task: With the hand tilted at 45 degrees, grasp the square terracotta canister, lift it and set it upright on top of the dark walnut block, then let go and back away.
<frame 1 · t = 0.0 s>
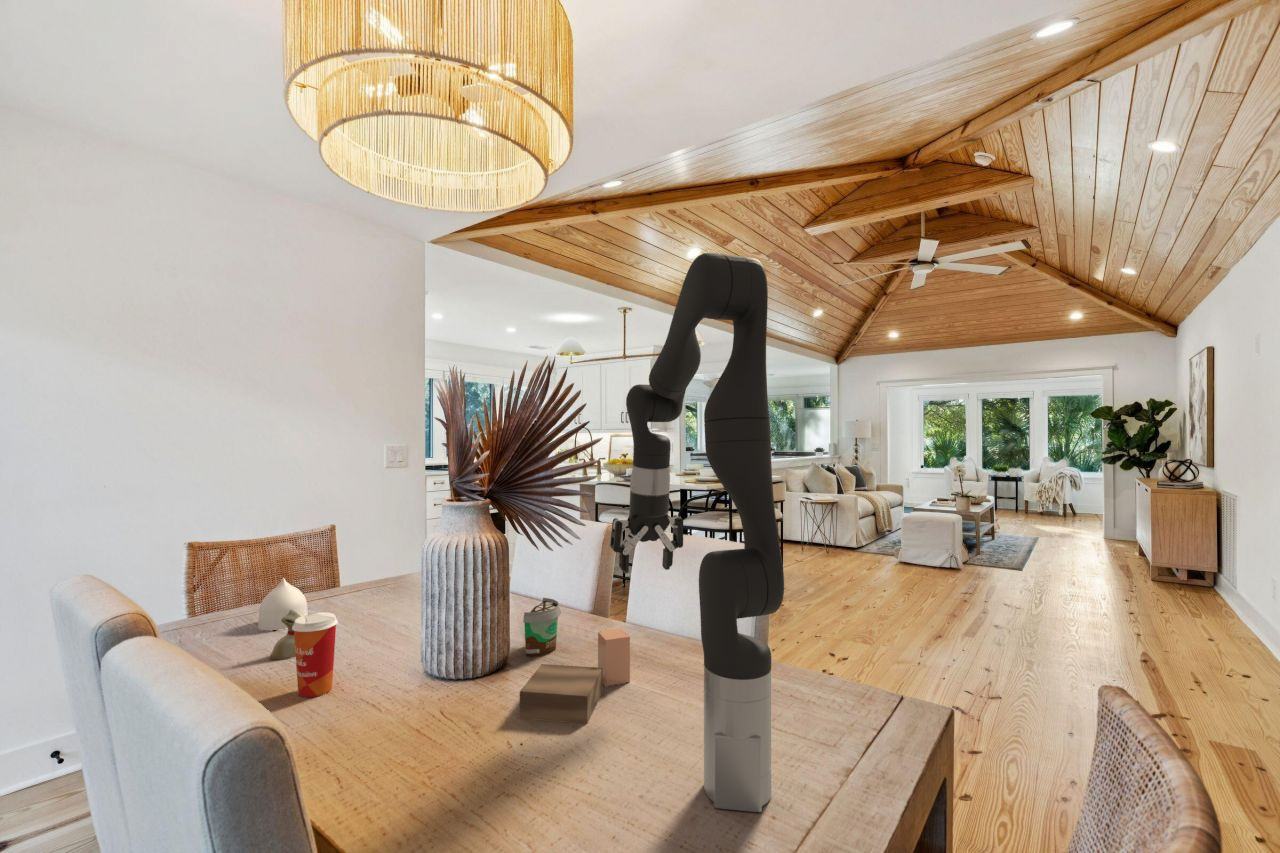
hand: (645, 570, 116), 22 cm above the table, tool pointing down, fingers open, 8 cm apart
paper cup: (315, 692, 113), on the table
walnut block: (563, 706, 108), on the table
food container: (546, 650, 134), on the table
terracotta canister: (613, 679, 119), on the table
teardrop: (283, 624, 152), on the table
tied pouch: (291, 655, 132), on the table
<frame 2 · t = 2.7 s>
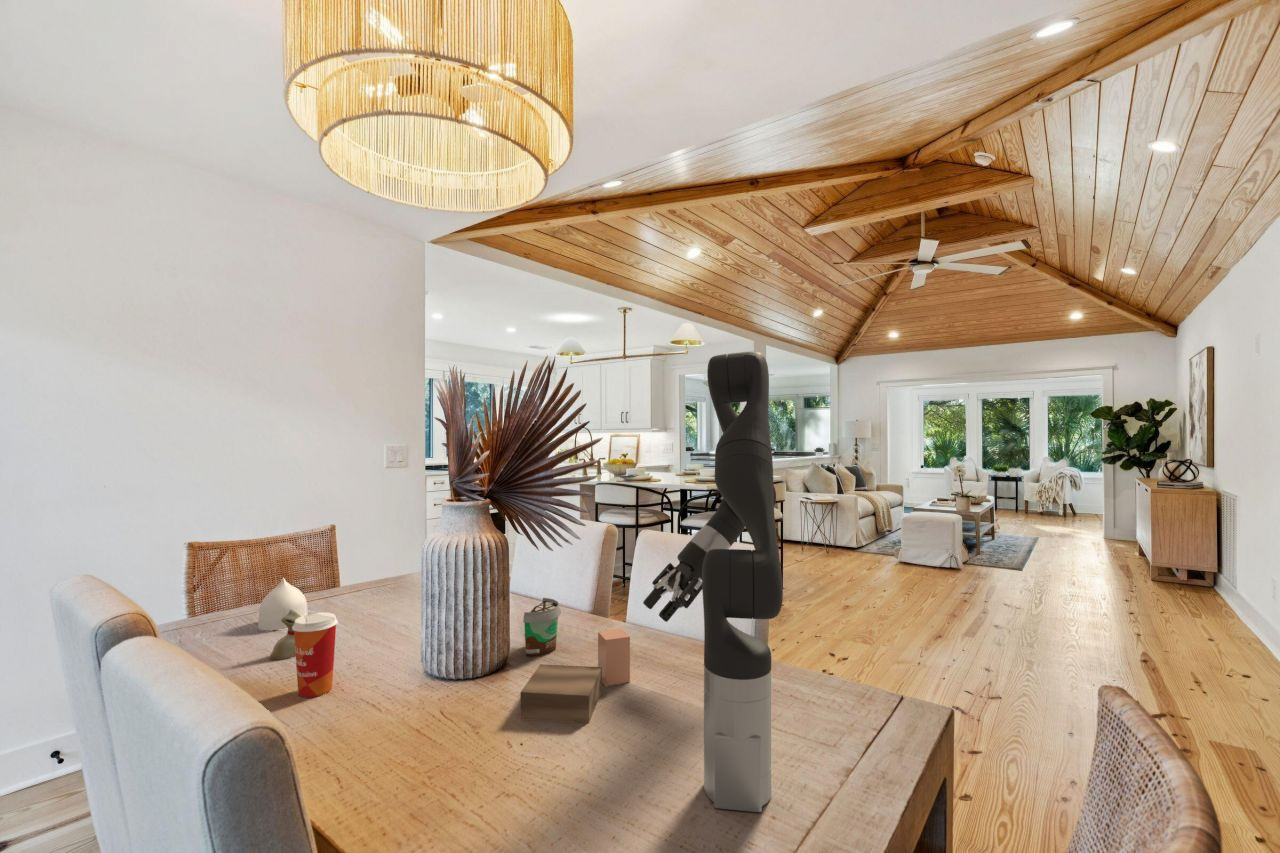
hand: (654, 612, 122), 12 cm above the table, tool tilted 45°, fingers open, 8 cm apart
nothing on the table moved.
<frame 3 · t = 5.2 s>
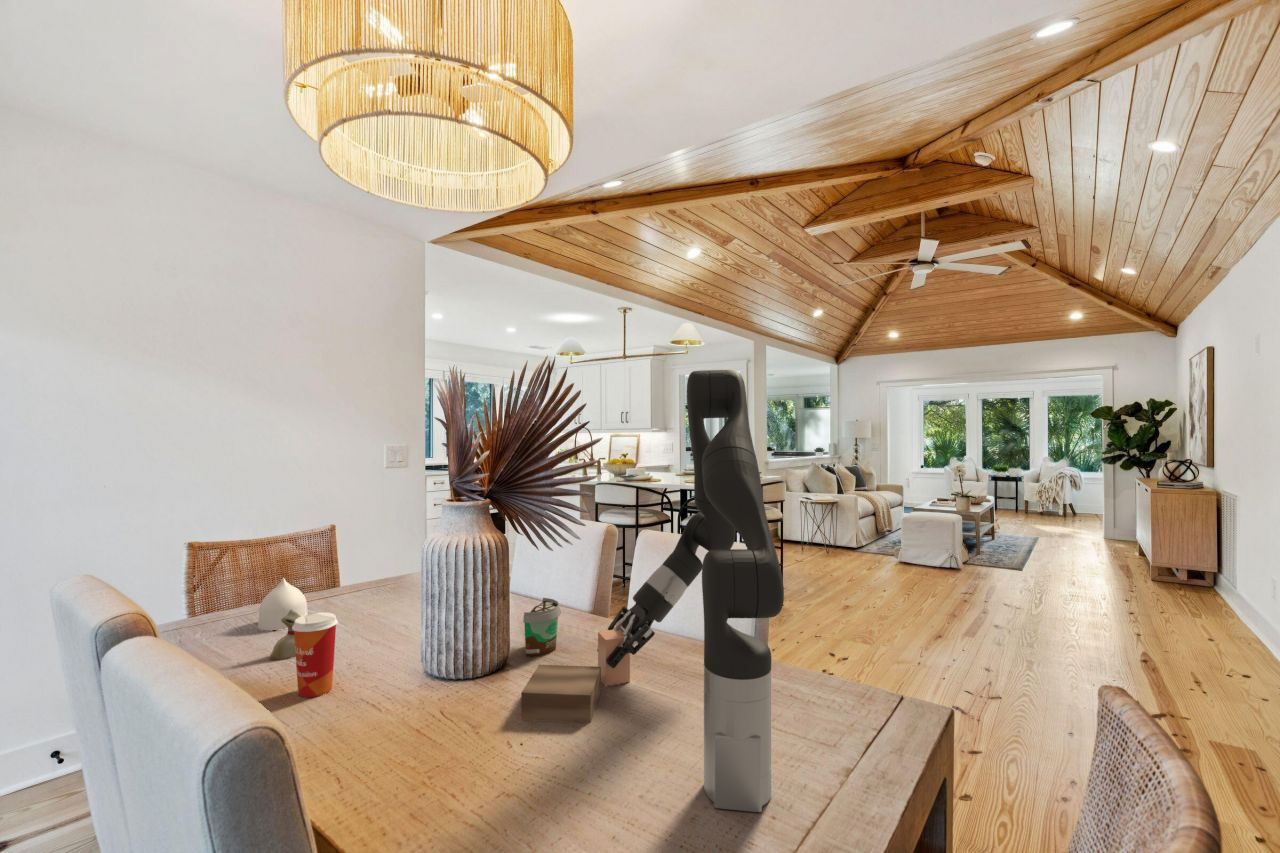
hand: (605, 659, 118), 4 cm above the table, tool tilted 45°, fingers closed on terracotta canister, 5 cm apart
terracotta canister: (613, 679, 119), on the table, touching gripper
everything else where it was.
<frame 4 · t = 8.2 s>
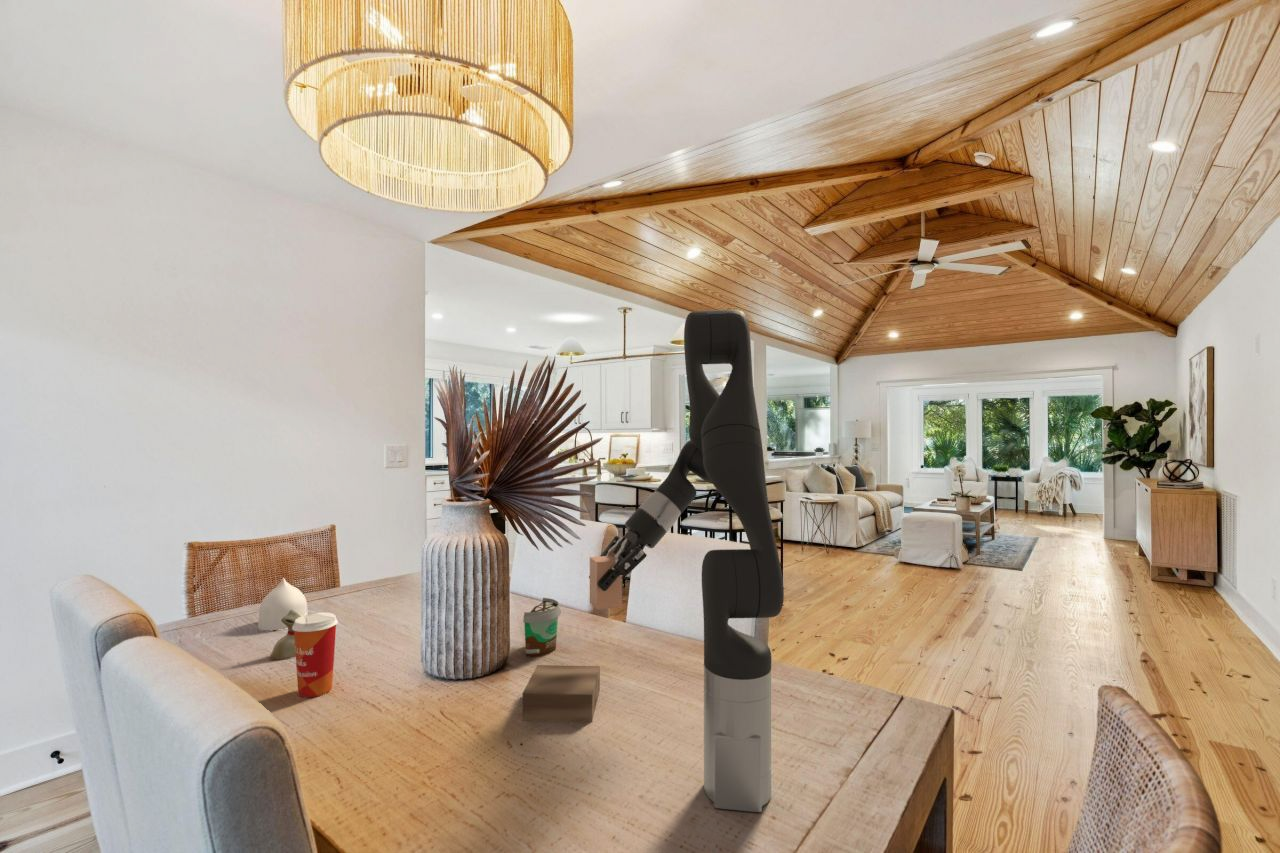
hand: (596, 584, 116), 20 cm above the table, tool tilted 45°, fingers closed on terracotta canister, 5 cm apart
terracotta canister: (605, 604, 116), point 15 cm above the table, touching gripper
everything else where it was.
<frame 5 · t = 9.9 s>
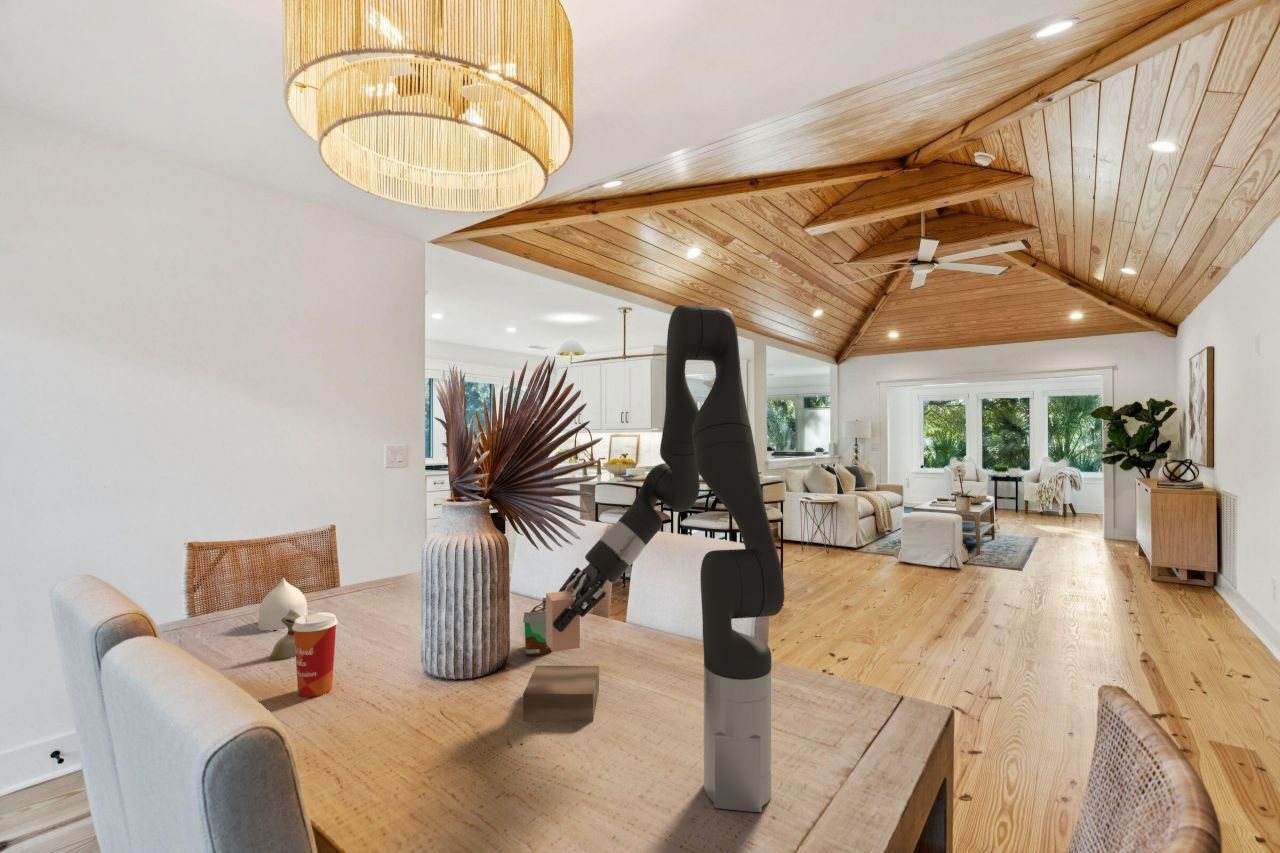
hand: (552, 623, 107), 15 cm above the table, tool tilted 45°, fingers closed on terracotta canister, 5 cm apart
terracotta canister: (562, 644, 108), point 11 cm above the table, touching gripper
everything else where it was.
when the fingers open (11 cm above the table, at t = 11.1 s): terracotta canister drops 2 cm, resting on walnut block.
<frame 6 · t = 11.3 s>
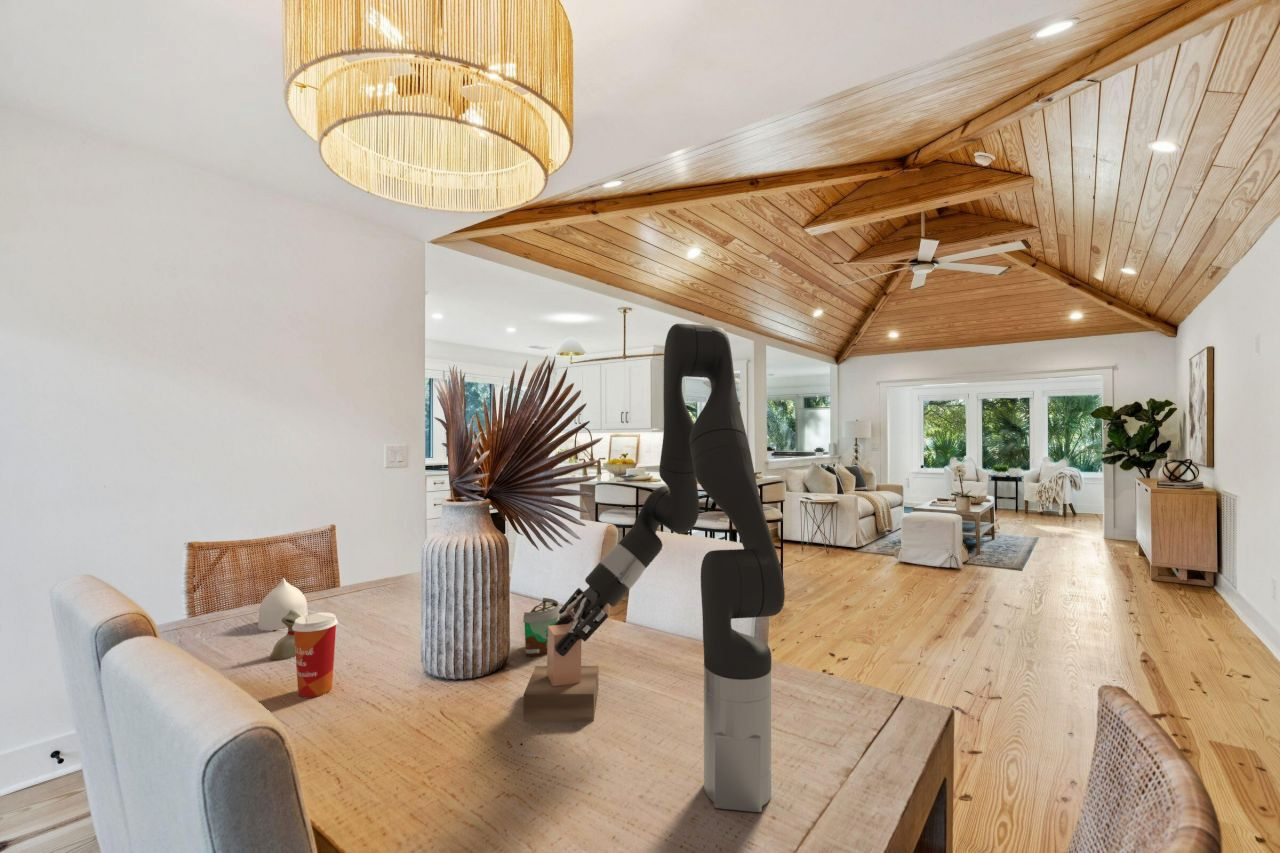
hand: (554, 645, 107), 11 cm above the table, tool tilted 45°, fingers open, 6 cm apart
walnut block: (563, 706, 108), on the table, touching terracotta canister
terracotta canister: (563, 678, 108), point 5 cm above the table, touching walnut block
everything else where it was.
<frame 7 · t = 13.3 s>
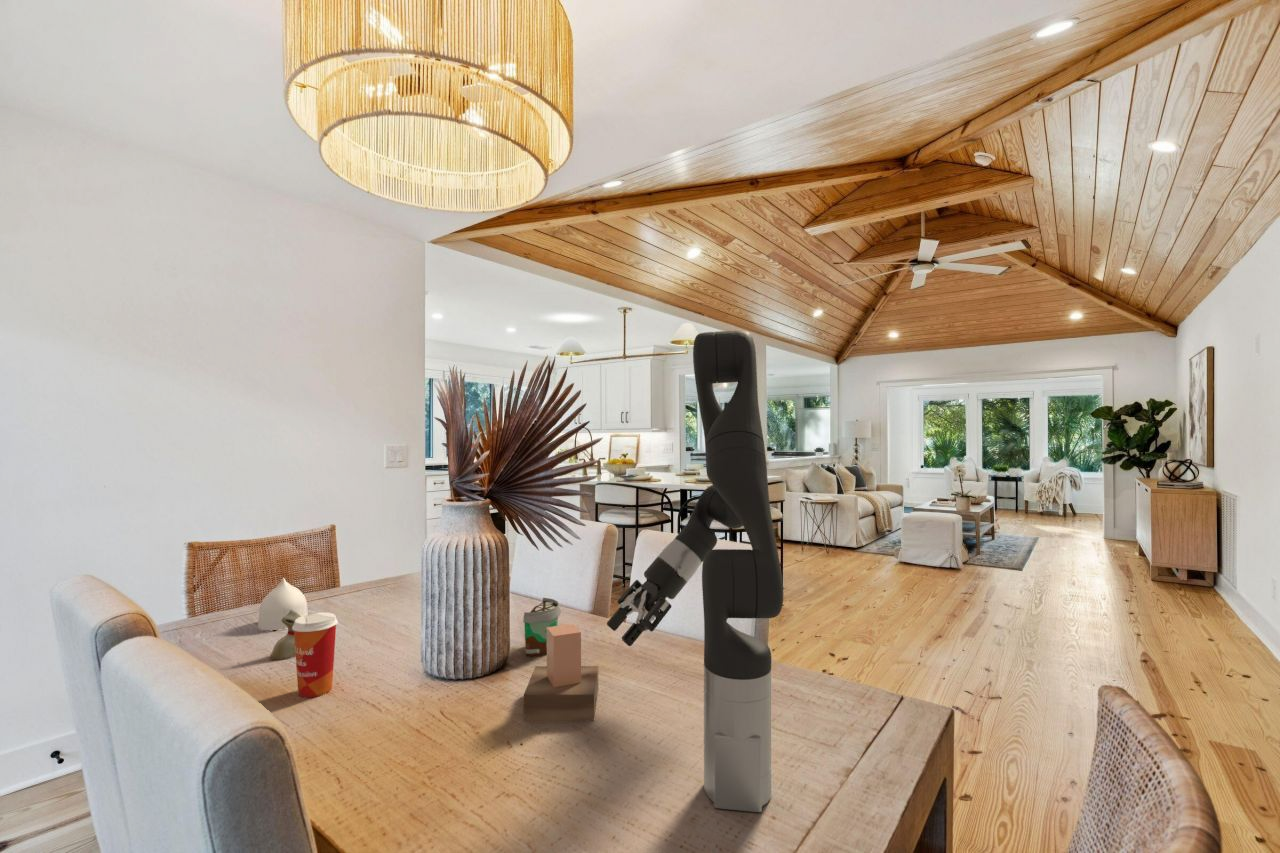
hand: (617, 635, 112), 11 cm above the table, tool tilted 45°, fingers open, 8 cm apart
nothing on the table moved.
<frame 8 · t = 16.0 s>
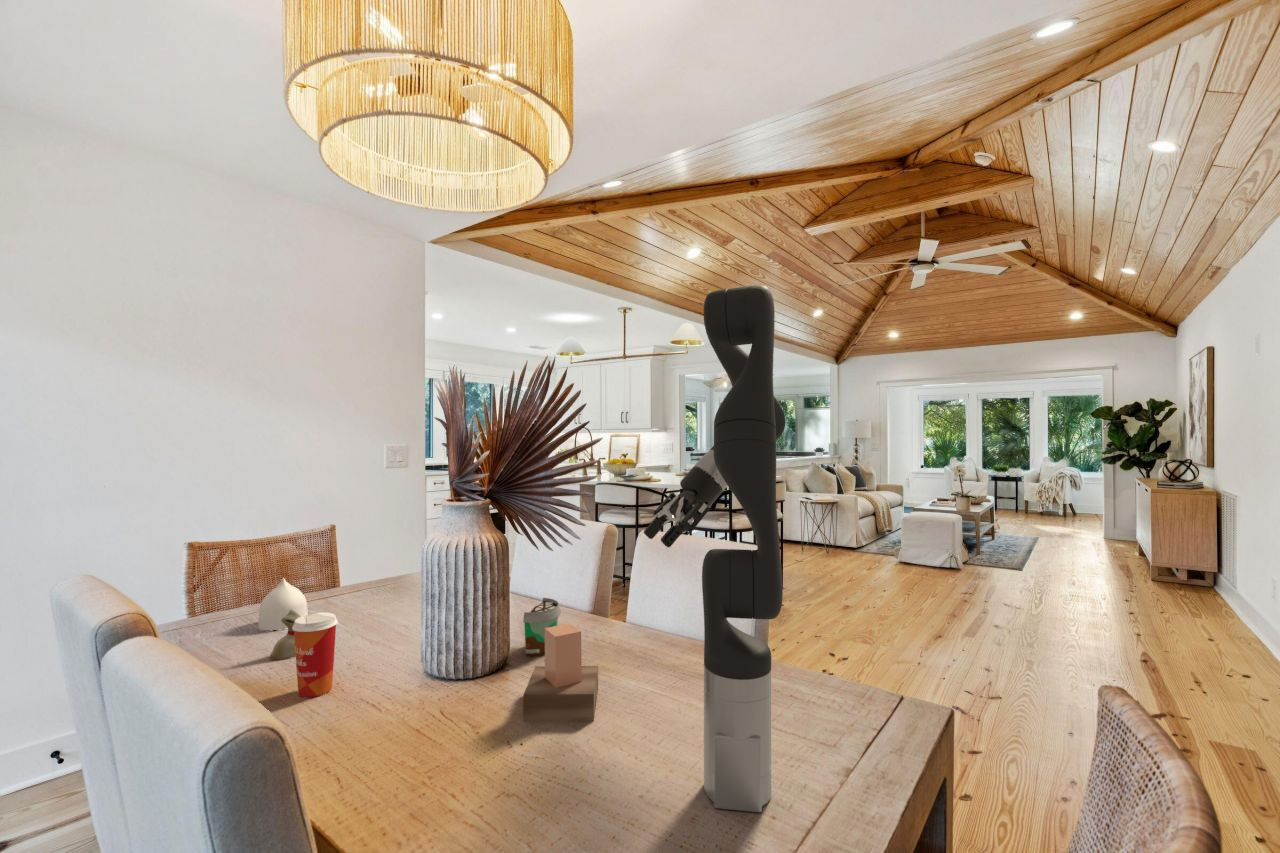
hand: (655, 540, 114), 29 cm above the table, tool tilted 45°, fingers open, 8 cm apart
nothing on the table moved.
at the end: terracotta canister inside the target area on the walnut block (0.1 cm from its centre), point 5.0 cm above the walnut block's base; terracotta canister tilted 1°; the gripper is holding nothing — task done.
